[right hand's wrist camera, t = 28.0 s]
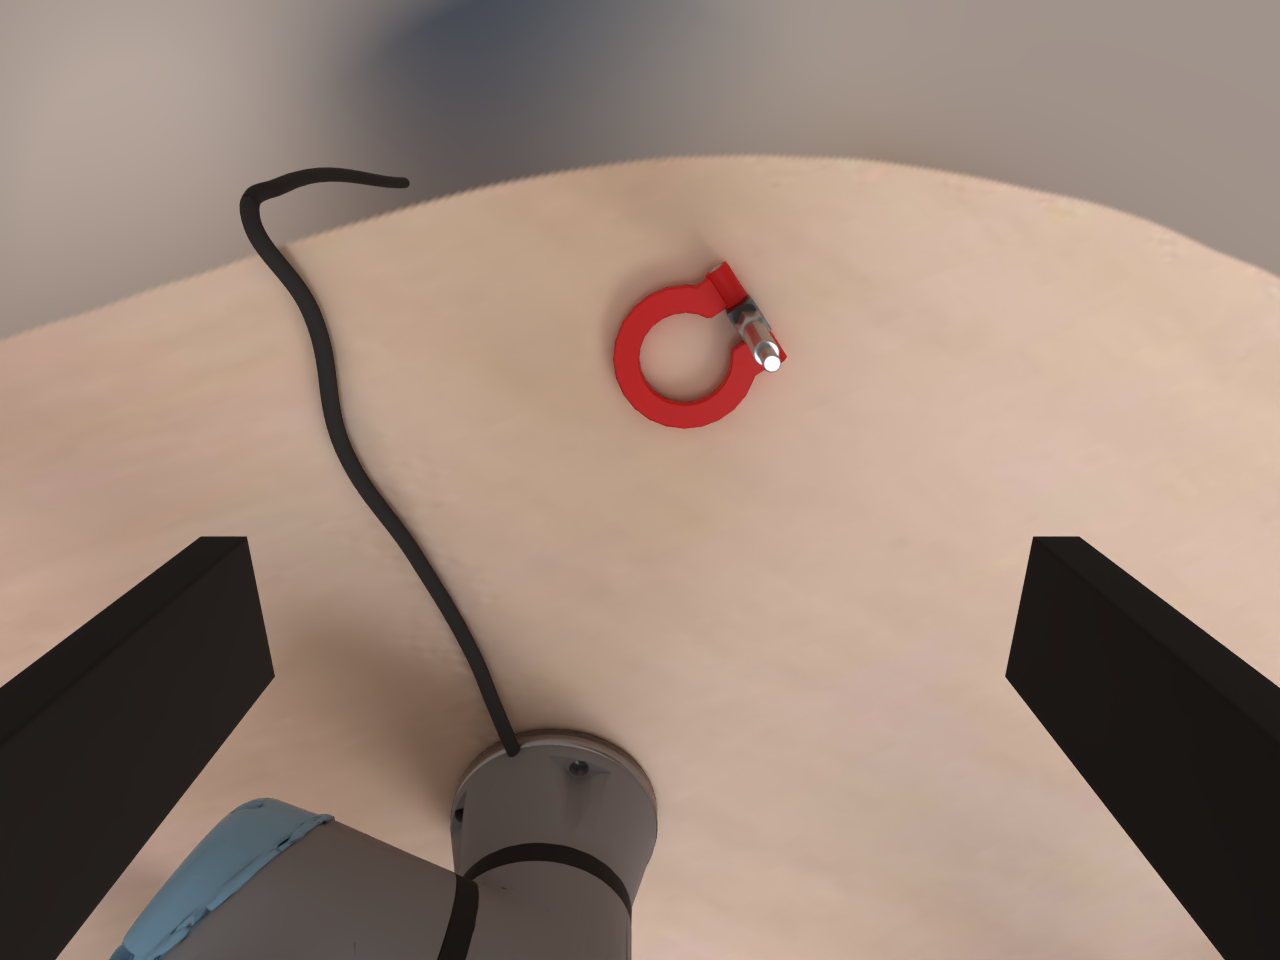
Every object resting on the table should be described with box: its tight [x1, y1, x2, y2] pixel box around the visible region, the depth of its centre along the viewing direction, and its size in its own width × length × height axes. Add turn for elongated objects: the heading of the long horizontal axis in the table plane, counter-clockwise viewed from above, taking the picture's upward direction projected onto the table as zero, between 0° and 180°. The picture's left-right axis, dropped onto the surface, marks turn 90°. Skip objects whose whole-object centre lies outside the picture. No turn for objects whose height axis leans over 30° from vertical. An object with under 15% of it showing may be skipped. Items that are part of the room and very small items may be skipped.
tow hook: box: [613, 262, 787, 429], centre depth 39 cm, size 8×13×9 cm
